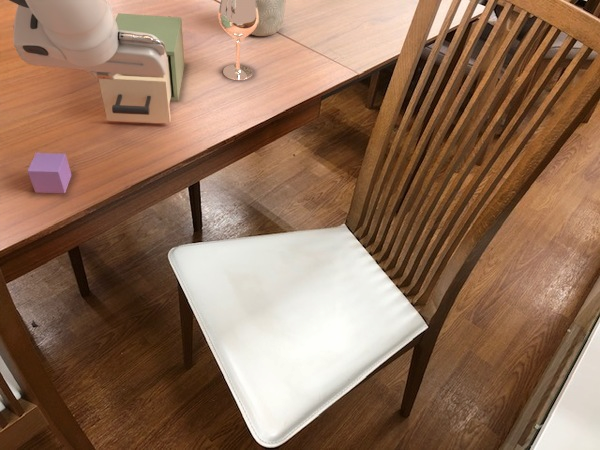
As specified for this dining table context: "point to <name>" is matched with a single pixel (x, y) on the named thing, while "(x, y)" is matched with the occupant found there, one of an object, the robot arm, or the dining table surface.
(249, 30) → the wineglass
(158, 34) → the green drawer cabinet
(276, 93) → the dining table surface
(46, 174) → the purple cube
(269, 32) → the planter
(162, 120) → the cream drawer
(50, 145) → the dining table surface
